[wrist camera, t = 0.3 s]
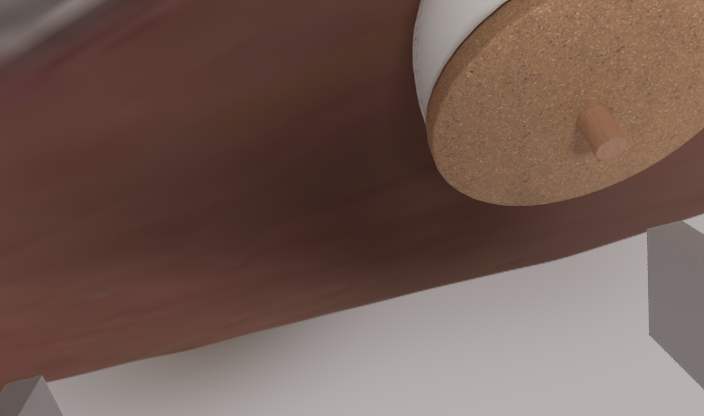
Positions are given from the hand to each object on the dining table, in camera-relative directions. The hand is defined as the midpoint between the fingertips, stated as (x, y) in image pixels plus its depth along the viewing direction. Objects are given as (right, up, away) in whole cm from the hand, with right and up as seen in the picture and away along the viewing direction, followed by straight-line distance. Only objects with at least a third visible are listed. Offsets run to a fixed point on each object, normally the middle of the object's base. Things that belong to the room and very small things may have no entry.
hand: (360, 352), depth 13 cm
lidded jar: (+6, +13, +11) cm, 18 cm away
